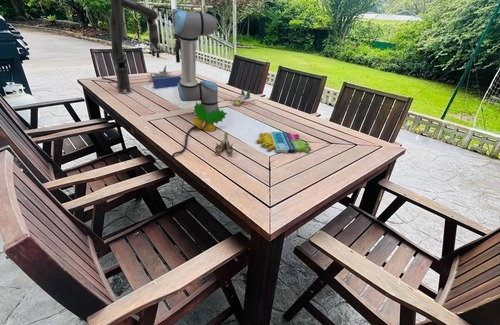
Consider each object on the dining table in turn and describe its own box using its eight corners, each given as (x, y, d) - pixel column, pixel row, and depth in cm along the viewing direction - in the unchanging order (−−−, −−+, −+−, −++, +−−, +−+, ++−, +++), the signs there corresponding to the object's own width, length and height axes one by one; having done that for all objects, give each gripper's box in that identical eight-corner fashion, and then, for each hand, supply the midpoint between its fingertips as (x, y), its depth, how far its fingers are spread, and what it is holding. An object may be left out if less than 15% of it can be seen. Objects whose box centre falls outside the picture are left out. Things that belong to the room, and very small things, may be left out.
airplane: (141, 75, 284) (140, 65, 279) (171, 73, 297) (170, 64, 292) (147, 84, 255) (146, 73, 250) (179, 82, 269) (178, 72, 264)
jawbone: (234, 135, 144) (233, 125, 135) (233, 160, 138) (232, 151, 129) (217, 135, 144) (216, 125, 135) (216, 160, 138) (214, 150, 129)
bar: (179, 84, 260) (178, 75, 256) (181, 85, 256) (181, 76, 252) (153, 87, 243) (152, 78, 239) (156, 88, 240) (155, 79, 236)
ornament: (218, 133, 171) (224, 110, 169) (221, 134, 163) (227, 111, 161) (186, 125, 162) (192, 101, 160) (189, 126, 155) (195, 101, 153)
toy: (261, 91, 228) (254, 99, 202) (261, 99, 231) (253, 108, 205) (231, 87, 233) (220, 95, 207) (230, 95, 236) (219, 104, 210)
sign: (313, 150, 142) (258, 149, 139) (312, 153, 143) (258, 152, 140) (301, 132, 164) (254, 130, 161) (301, 134, 165) (254, 133, 162)
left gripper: (145, 36, 225) (148, 56, 233) (153, 37, 216) (155, 58, 224) (154, 36, 230) (156, 55, 238) (161, 37, 221) (163, 58, 229)
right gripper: (168, 31, 198) (171, 61, 208) (179, 34, 179) (181, 67, 190) (178, 32, 201) (180, 61, 212) (189, 34, 183) (191, 66, 193)
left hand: (155, 57), depth 231 cm, fingers open, 8 cm apart
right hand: (180, 64), depth 201 cm, fingers open, 13 cm apart
